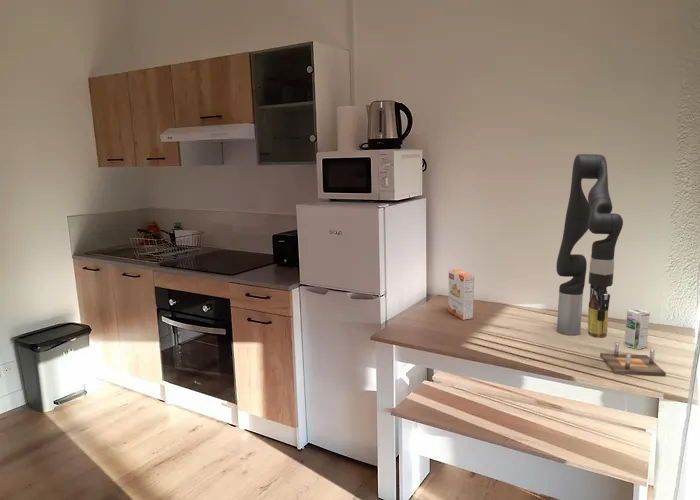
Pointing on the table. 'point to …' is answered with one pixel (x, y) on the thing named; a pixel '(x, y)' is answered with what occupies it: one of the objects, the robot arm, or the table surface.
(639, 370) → the board
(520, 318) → the table surface
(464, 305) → the cracker box
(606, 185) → the robot arm
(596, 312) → the sauce bottle
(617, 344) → the metal pins
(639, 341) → the syrup box
